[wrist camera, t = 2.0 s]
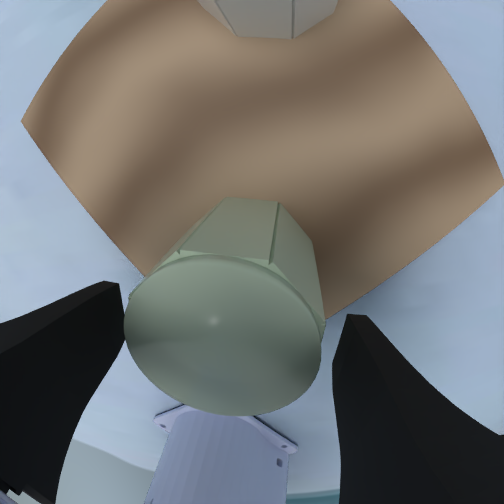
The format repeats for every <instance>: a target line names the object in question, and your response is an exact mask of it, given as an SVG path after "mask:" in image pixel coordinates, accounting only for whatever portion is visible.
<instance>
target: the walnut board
mask: <svg viewBox="0 0 504 504" xmlns="http://www.w3.org/2000/svg"><path fill="white" fill-rule="evenodd" d="M21 122H22V124H23V125H24V127H25V128H26V130H27V131H28V133H29V134H30V136H31V137H32V139H33V140H34V142H35V143H36V145H37V146H38V148H39V149H40V150H41V152H42V153H43V155H44V156H45V157H46V159H47V160H48V162H49V163H50V164H51V166H52V167H53V168H54V170H55V171H56V172H57V174H58V175H59V176H60V178H61V179H62V180H63V182H64V183H65V184H66V186H67V187H68V188H69V189H70V191H71V192H72V193H73V195H74V196H75V197H76V198H77V200H78V201H79V202H80V203H81V205H82V206H83V207H84V208H85V209H86V211H87V212H88V213H89V214H90V216H91V217H92V218H93V219H94V220H95V222H96V223H97V224H98V225H99V226H100V227H101V229H102V230H103V231H104V232H105V233H106V234H107V236H108V237H109V238H110V239H111V240H112V241H113V242H114V244H115V245H116V246H117V247H118V248H119V249H120V250H121V251H122V253H123V254H124V255H125V256H126V257H127V258H128V259H129V260H130V261H131V262H132V264H133V265H134V266H135V267H136V268H137V269H138V270H139V271H140V272H141V273H142V274H143V275H144V276H146V275H147V274H148V273H149V272H150V270H151V269H152V268H153V267H154V266H155V265H156V264H157V263H158V262H159V261H160V259H161V258H162V257H163V256H164V255H165V254H166V253H167V252H168V251H169V250H170V249H171V248H172V247H173V245H174V244H175V243H176V242H177V241H178V240H179V239H180V238H181V237H182V236H183V235H184V234H185V233H186V232H187V231H188V230H189V229H190V228H191V227H192V226H193V225H194V224H195V223H196V222H197V221H198V220H200V219H201V218H202V217H203V216H204V215H205V214H206V213H207V212H209V211H210V210H211V209H212V208H213V207H214V206H215V205H217V204H218V203H219V202H220V201H221V200H222V199H223V198H226V197H237V198H248V199H258V200H268V201H278V204H279V203H281V204H282V205H283V206H284V208H285V209H286V210H287V211H288V212H289V214H290V215H291V216H292V217H293V218H294V220H295V221H296V222H297V223H298V225H299V226H300V227H301V228H302V229H303V231H304V232H305V233H306V234H307V236H308V237H309V238H310V239H311V241H312V244H313V249H314V255H315V260H316V266H317V272H318V278H319V284H320V290H321V296H322V302H323V309H324V315H325V320H326V319H328V318H329V317H331V316H332V315H334V314H336V313H337V312H339V311H340V310H342V309H344V308H345V307H347V306H348V305H350V304H351V303H353V302H354V301H356V300H357V299H359V298H360V297H362V296H363V295H365V294H366V293H368V292H369V291H371V290H372V289H374V288H375V287H377V286H378V285H380V284H381V283H383V282H384V281H385V280H387V279H388V278H390V277H391V276H393V275H394V274H395V273H397V272H398V271H400V270H401V269H402V268H404V267H405V266H406V265H408V264H409V263H411V262H412V261H413V260H415V259H416V258H417V257H419V256H420V255H421V254H423V253H424V252H425V251H427V250H428V249H429V248H430V247H432V246H433V245H434V244H436V243H437V242H438V241H439V240H441V239H442V238H443V237H444V236H446V235H447V234H448V233H449V232H451V231H452V230H453V229H454V228H456V227H457V226H458V225H459V224H460V223H462V222H463V221H464V220H465V219H466V218H468V217H469V216H470V215H471V214H472V213H473V212H475V211H476V210H477V209H478V208H479V207H480V206H481V205H483V204H484V203H485V202H486V201H487V200H488V199H489V198H490V197H491V196H493V195H494V194H495V193H496V192H497V191H498V190H499V189H500V188H501V187H502V186H503V185H504V179H503V177H502V174H501V172H500V169H499V167H498V164H497V162H496V160H495V157H494V155H493V153H492V150H491V148H490V146H489V144H488V142H487V140H486V137H485V135H484V133H483V131H482V129H481V127H480V125H479V123H478V121H477V120H476V118H475V116H474V114H473V112H472V110H471V109H470V107H469V105H468V103H467V102H466V100H465V98H464V96H463V95H462V93H461V91H460V90H459V88H458V87H457V85H456V83H455V82H454V80H453V79H452V77H451V76H450V74H449V73H448V71H447V70H446V68H445V67H444V65H443V64H442V62H441V61H440V60H439V58H438V57H437V55H436V54H435V53H434V51H433V50H432V49H431V47H430V46H429V45H428V43H427V42H426V41H425V40H424V38H423V37H422V36H421V35H420V33H419V32H418V31H417V30H416V29H415V27H414V26H413V25H412V24H411V23H410V22H409V20H408V19H407V18H406V17H405V16H404V15H403V14H402V13H401V11H400V10H399V9H398V8H397V7H396V6H395V5H394V4H393V3H392V2H391V1H390V0H338V2H337V5H336V7H335V10H334V12H333V14H331V15H330V16H328V17H326V18H325V19H323V20H322V21H320V22H318V23H317V24H315V25H314V26H312V27H311V28H309V29H308V30H306V31H305V32H303V33H302V34H300V35H299V36H297V37H296V38H295V39H294V38H293V37H292V39H280V38H263V37H238V36H235V35H234V34H233V33H232V32H231V31H230V30H229V29H227V28H226V27H225V26H224V25H223V24H222V23H221V22H219V21H218V20H217V19H216V18H215V17H214V16H212V15H211V14H210V13H209V12H208V11H206V10H205V9H204V8H203V7H202V6H201V4H200V3H199V2H198V1H197V0H107V1H106V2H105V3H104V4H103V5H102V7H101V8H100V9H99V10H98V11H97V12H96V13H95V14H94V15H93V16H92V18H91V19H90V20H89V21H88V22H87V23H86V24H85V26H84V27H83V28H82V29H81V30H80V32H79V33H78V34H77V35H76V37H75V38H74V39H73V40H72V42H71V43H70V44H69V46H68V47H67V48H66V50H65V51H64V52H63V54H62V55H61V56H60V58H59V59H58V61H57V62H56V64H55V65H54V66H53V68H52V69H51V71H50V72H49V74H48V75H47V77H46V78H45V80H44V82H43V83H42V85H41V86H40V88H39V90H38V91H37V93H36V95H35V96H34V98H33V100H32V102H31V103H30V105H29V107H28V109H27V110H26V112H25V114H24V116H23V118H22V120H21Z"/></svg>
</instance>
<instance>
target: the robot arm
mask: <svg viewBox="0 0 504 504" xmlns="http://www.w3.org/2000/svg"><path fill="white" fill-rule="evenodd" d="M124 316H125V315H124V309H123V304H122V298H121V292H120V286H119V283H113V282H108V281H102V282H99V283H96V284H93V285H91V286H88V287H86V288H84V289H81V290H79V291H77V292H75V293H72V294H70V295H68V296H66V297H64V298H62V299H59V300H57V301H55V302H53V303H51V304H49V305H46V306H44V307H41V308H39V309H37V310H34V311H32V312H30V313H28V314H25V315H23V316H20V317H18V318H15V319H12V320H9V321H6V322H3V323H0V504H17V503H16V502H15V501H14V500H12V499H11V498H10V497H8V496H7V495H6V494H7V492H8V490H9V489H10V490H11V491H13V492H14V493H15V494H17V495H20V494H21V492H22V491H23V492H25V493H26V494H27V495H29V496H30V497H32V498H33V499H35V500H36V501H38V502H39V503H41V504H55V502H56V495H57V489H58V484H59V479H60V474H61V471H62V467H63V464H64V460H65V457H66V453H67V451H68V448H69V445H70V442H71V439H72V437H73V434H74V432H75V429H76V427H77V424H78V422H79V420H80V418H81V415H82V413H83V411H84V409H85V408H86V406H87V404H88V402H89V401H90V399H91V397H92V396H93V394H94V392H95V391H96V389H97V388H98V386H99V385H100V383H101V381H102V380H103V378H104V377H105V375H106V374H107V372H108V370H109V369H110V367H111V366H112V364H113V362H114V361H115V359H116V358H117V356H118V354H119V352H120V350H121V348H122V345H123V343H124V341H125V334H124ZM332 386H333V398H334V405H335V413H336V421H337V428H338V436H339V445H340V456H341V479H340V498H339V504H504V437H502V436H500V435H498V434H496V433H495V432H493V431H491V430H490V429H488V428H486V427H485V426H483V425H482V424H480V423H479V422H477V421H476V420H474V419H473V418H472V417H470V416H469V415H467V414H466V413H464V412H463V411H462V410H461V409H459V408H458V407H457V406H455V405H454V404H453V403H452V402H451V401H449V400H448V399H447V398H446V397H445V396H443V395H442V394H441V393H440V392H439V391H438V390H437V389H435V388H434V387H433V386H432V385H431V384H430V383H429V382H428V381H427V380H426V379H425V378H424V377H423V376H422V375H421V374H420V373H419V372H418V371H417V370H416V369H415V368H414V367H413V366H412V365H411V364H410V363H409V362H408V361H407V360H406V359H405V358H404V356H403V355H402V354H401V353H400V352H399V351H398V350H397V349H396V348H395V346H394V345H393V344H392V343H391V342H390V341H389V340H388V339H387V337H386V336H385V335H384V334H383V333H382V332H381V331H380V329H379V328H378V327H377V326H376V325H375V324H374V323H373V322H372V321H371V319H370V318H369V317H368V316H367V315H355V314H347V317H346V320H345V324H344V327H343V331H342V334H341V337H340V340H339V344H338V347H337V350H336V353H335V356H334V359H333V362H332ZM153 422H154V423H155V424H156V425H158V426H159V427H161V428H162V429H164V430H165V431H167V432H168V433H170V434H169V436H168V439H167V442H166V444H165V447H164V450H163V452H162V455H161V458H160V460H159V463H158V466H157V469H156V471H155V474H154V477H153V480H152V482H151V485H150V488H149V490H148V493H147V496H146V499H145V501H144V504H285V503H286V491H287V477H288V462H289V454H292V453H295V452H297V451H298V447H297V446H296V445H295V444H293V443H291V442H290V441H288V440H287V439H285V438H284V437H282V436H280V435H279V434H277V433H276V432H274V431H273V430H271V429H270V428H268V427H267V426H266V425H264V424H263V423H261V422H260V421H258V420H257V419H255V418H254V417H253V416H225V415H217V414H213V413H208V412H204V411H201V410H198V409H195V408H192V407H190V406H187V405H183V406H180V407H178V408H175V409H173V410H170V411H168V412H165V413H163V414H160V415H157V416H155V417H154V419H153Z"/></svg>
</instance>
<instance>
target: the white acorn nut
mask: <svg viewBox="0 0 504 504" xmlns="http://www.w3.org/2000/svg"><path fill="white" fill-rule="evenodd" d="M197 1H198V2H199V3H200V4H201V6H202V7H203V8H204V9H205V10H206V11H208V12H209V13H210V14H211V15H212V16H214V17H215V18H216V19H217V20H218V21H219V22H221V23H222V24H223V25H224V26H225V27H226V28H227V29H229V30H230V31H231V32H232V33H233V34H234V35H235V36H238V37H263V38H280V39H292V37H293V38H294V39H295V38H296V37H297V36H299V35H300V34H302V33H303V32H305V31H306V30H308V29H309V28H311V27H312V26H314V25H315V24H317V23H318V22H320V21H322V20H323V19H325V18H326V17H328V16H330V15H331V14H333V12H334V10H335V7H336V5H337V2H338V0H197Z"/></svg>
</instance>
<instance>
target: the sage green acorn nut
mask: <svg viewBox="0 0 504 504" xmlns="http://www.w3.org/2000/svg"><path fill="white" fill-rule="evenodd" d="M129 295H130V296H129V297H128V299H129V303H128V305H127V308H126V311H125V316H124V334H125V340H126V343H127V346H128V349H129V351H130V354H131V356H132V358H133V359H134V361H135V363H136V364H137V366H138V367H139V369H140V370H141V371H142V372H143V374H144V375H145V376H146V377H147V378H148V379H149V380H150V381H151V382H152V383H153V384H154V385H155V386H156V387H158V388H159V389H160V390H162V391H163V392H164V393H166V394H167V395H169V396H170V397H172V398H174V399H175V400H177V401H179V402H181V403H183V404H185V405H187V406H190V407H192V408H195V409H198V410H201V411H204V412H208V413H213V414H217V415H225V416H253V415H260V414H265V413H269V412H272V411H275V410H278V409H280V408H283V407H285V406H287V405H289V404H290V403H292V402H293V401H295V400H297V399H298V398H299V397H300V396H301V395H303V394H304V393H305V392H306V391H307V389H308V388H309V387H310V386H311V384H312V383H313V381H314V380H315V378H316V375H317V373H318V371H319V367H320V362H321V342H322V338H323V334H324V330H325V327H326V322H325V315H324V309H323V302H322V296H321V290H320V284H319V278H318V272H317V266H316V260H315V255H314V249H313V244H312V241H311V239H310V238H309V237H308V236H307V234H306V233H305V232H304V231H303V229H302V228H301V227H300V226H299V225H298V223H297V222H296V221H295V220H294V218H293V217H292V216H291V215H290V214H289V212H288V211H287V210H286V209H285V208H284V206H283V205H282V204H281V203H279V204H278V201H268V200H258V199H248V198H237V197H226V198H223V199H222V200H221V201H220V202H219V203H218V204H217V205H215V206H214V207H213V208H212V209H211V210H210V211H209V212H207V213H206V214H205V215H204V216H203V217H202V218H201V219H200V220H198V221H197V222H196V223H195V224H194V225H193V226H192V227H191V228H190V229H189V230H188V231H187V232H186V233H185V234H184V235H183V236H182V237H181V238H180V239H179V240H178V241H177V242H176V243H175V244H174V245H173V247H172V248H171V249H170V250H169V251H168V252H167V253H166V254H165V255H164V256H163V257H162V258H161V259H160V261H159V262H158V263H157V264H156V265H155V266H154V267H153V268H152V269H151V270H150V272H149V273H148V274H147V275H146V276H145V277H144V278H143V279H142V280H141V282H140V283H139V284H138V285H137V286H136V287H135V288H134V290H133V291H132V292H131V293H130V294H129Z"/></svg>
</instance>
